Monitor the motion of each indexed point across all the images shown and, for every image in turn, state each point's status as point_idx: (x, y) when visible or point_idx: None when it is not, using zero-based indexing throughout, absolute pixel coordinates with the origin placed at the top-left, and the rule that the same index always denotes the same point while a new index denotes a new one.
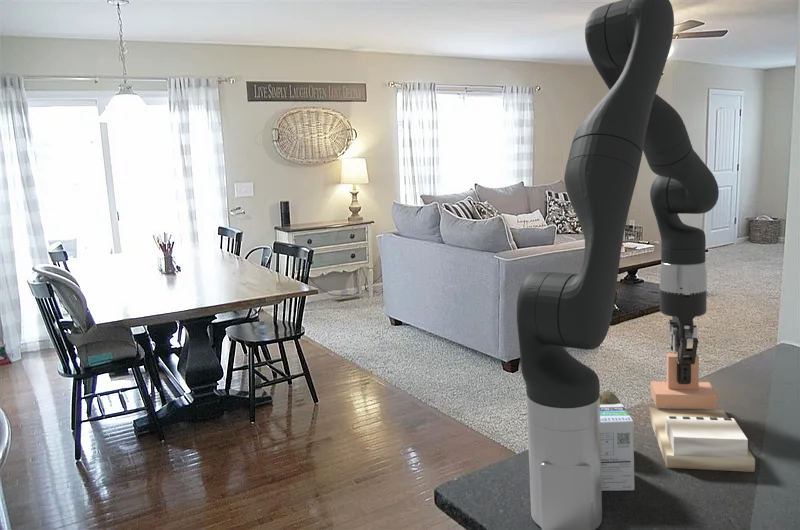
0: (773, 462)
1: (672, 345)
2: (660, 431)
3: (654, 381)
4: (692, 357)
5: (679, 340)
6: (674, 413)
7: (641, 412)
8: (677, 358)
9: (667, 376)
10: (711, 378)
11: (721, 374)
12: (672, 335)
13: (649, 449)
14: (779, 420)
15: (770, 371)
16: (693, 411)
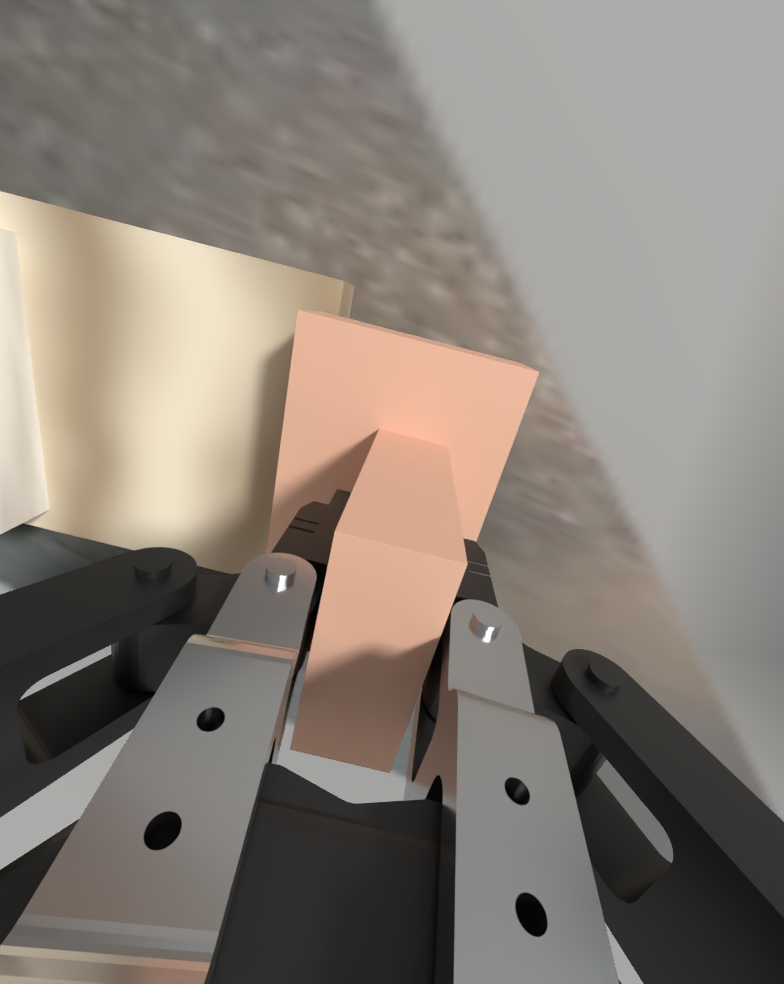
0: (9, 549)
1: (457, 698)
2: (34, 213)
3: (528, 397)
4: (46, 692)
5: (21, 857)
6: (264, 385)
7: (435, 273)
8: (246, 587)
9: (412, 460)
10: (701, 707)
11: (721, 749)
12: (451, 900)
13: (10, 139)
14: (298, 699)
15: (669, 855)
16: None
